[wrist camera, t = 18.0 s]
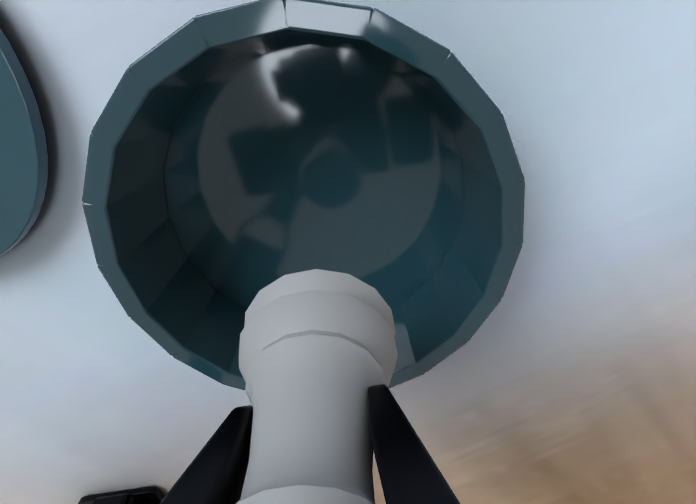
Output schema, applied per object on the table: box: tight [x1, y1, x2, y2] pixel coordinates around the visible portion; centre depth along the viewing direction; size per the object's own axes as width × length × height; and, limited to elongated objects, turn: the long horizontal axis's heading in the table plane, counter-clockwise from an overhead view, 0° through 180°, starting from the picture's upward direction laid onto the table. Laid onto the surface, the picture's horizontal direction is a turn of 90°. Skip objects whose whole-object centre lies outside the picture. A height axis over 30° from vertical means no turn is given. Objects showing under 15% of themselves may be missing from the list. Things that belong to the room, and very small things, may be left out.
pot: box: [82, 0, 525, 390], centre depth 15 cm, size 16×16×5 cm
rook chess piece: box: [236, 269, 398, 504], centre depth 7 cm, size 4×4×8 cm
